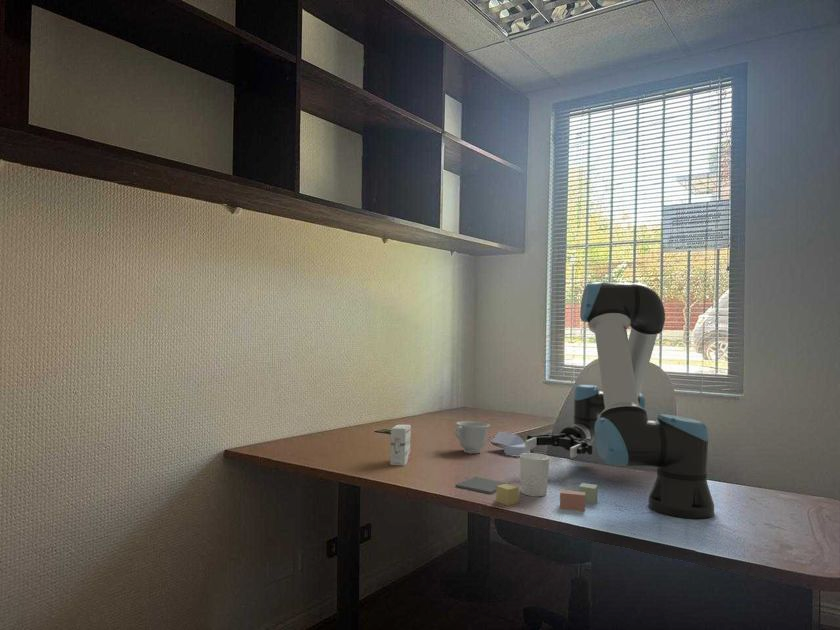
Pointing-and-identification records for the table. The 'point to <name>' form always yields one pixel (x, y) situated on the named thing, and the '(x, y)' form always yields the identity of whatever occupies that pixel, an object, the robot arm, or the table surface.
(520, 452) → the wedge on round base
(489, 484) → the slate coaster
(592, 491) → the sage block
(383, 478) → the table surface
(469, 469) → the table surface
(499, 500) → the mustard block
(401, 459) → the ink box
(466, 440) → the teacup
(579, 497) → the brick-red long block
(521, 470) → the white cup
